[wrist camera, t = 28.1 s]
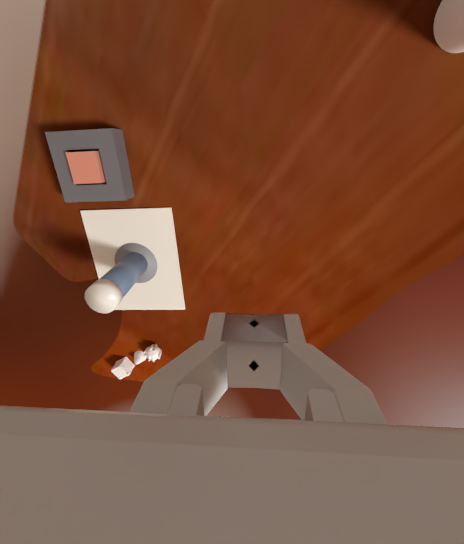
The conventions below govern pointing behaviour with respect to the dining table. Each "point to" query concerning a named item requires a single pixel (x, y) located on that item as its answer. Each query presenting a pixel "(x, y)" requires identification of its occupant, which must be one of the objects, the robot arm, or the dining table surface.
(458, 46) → the cylindrical container
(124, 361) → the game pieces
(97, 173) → the button
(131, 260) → the blue and white cylinder
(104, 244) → the paper sheet
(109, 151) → the button housing
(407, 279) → the dining table surface
